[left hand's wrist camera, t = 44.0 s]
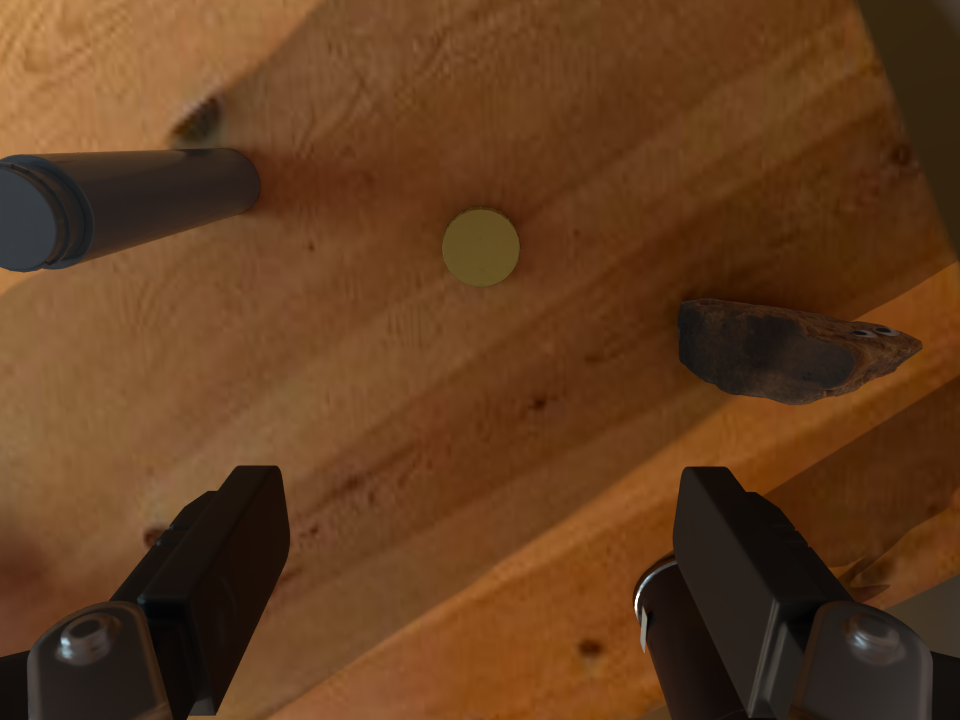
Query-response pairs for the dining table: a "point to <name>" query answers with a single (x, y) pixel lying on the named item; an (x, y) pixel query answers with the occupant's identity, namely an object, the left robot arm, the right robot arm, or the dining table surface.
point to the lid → (481, 246)
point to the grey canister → (113, 201)
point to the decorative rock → (785, 350)
